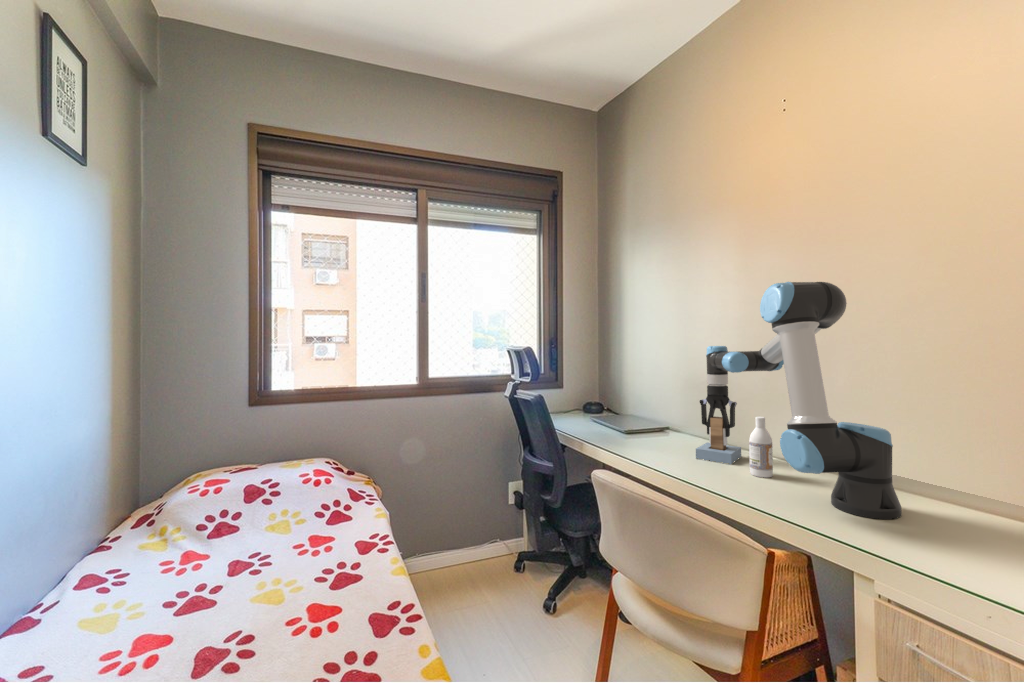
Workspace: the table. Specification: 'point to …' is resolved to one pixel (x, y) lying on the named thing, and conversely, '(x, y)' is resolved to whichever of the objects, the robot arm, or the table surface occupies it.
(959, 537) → the table surface
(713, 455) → the socket block
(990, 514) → the table surface
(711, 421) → the peg
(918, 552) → the table surface
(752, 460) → the bath foam
